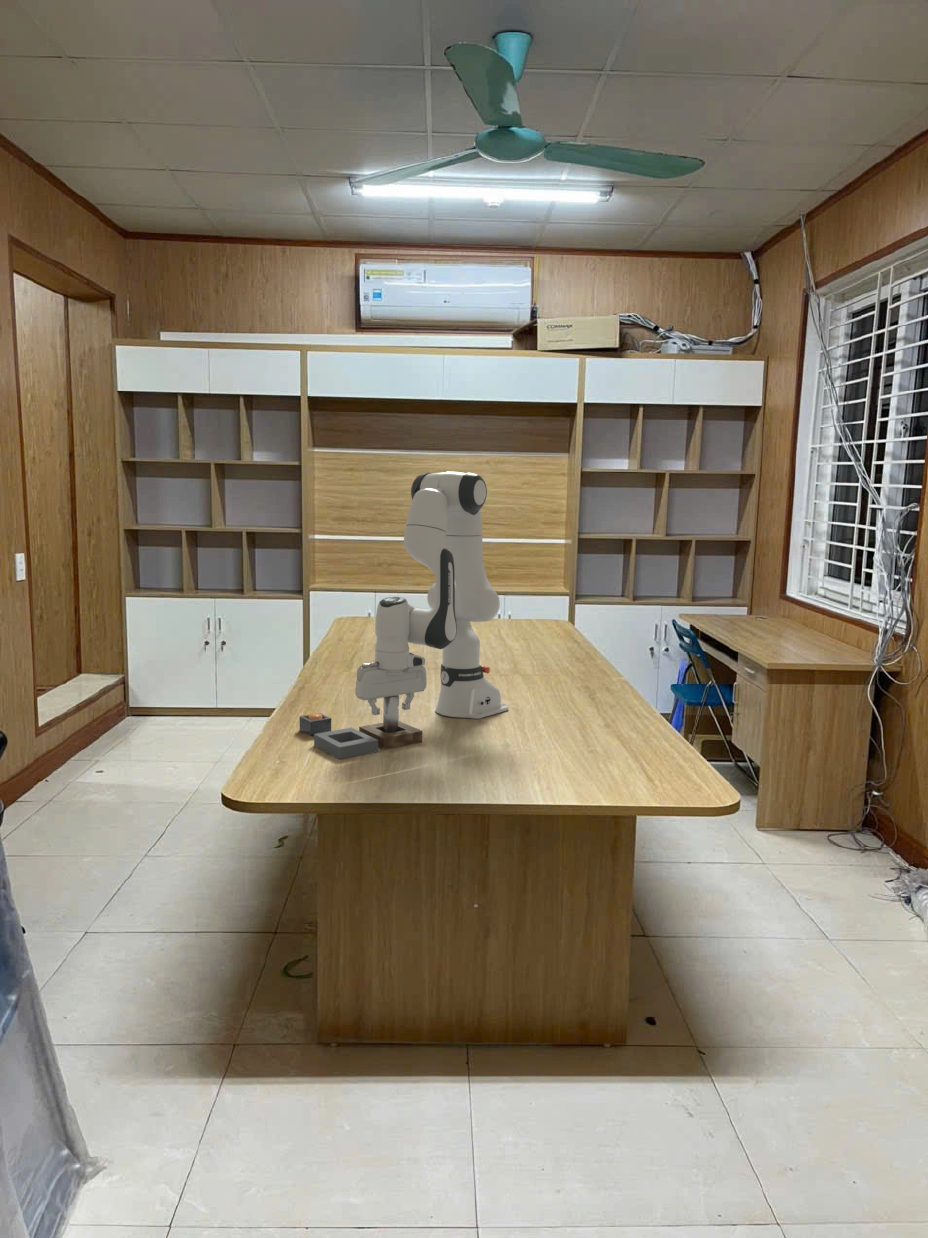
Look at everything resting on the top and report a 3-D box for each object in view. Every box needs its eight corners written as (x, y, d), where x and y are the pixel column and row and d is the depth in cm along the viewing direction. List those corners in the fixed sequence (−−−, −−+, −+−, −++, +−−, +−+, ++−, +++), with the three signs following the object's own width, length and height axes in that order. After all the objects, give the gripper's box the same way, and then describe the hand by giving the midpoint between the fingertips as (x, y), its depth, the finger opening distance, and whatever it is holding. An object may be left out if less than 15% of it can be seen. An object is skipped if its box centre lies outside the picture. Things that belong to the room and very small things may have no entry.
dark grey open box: (320, 727, 232) (320, 712, 232) (331, 732, 227) (331, 718, 227) (299, 730, 228) (299, 716, 228) (310, 736, 224) (310, 721, 223)
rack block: (351, 738, 223) (351, 727, 222) (377, 751, 213) (378, 740, 212) (314, 745, 216) (314, 734, 216) (339, 759, 206) (339, 747, 206)
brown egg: (318, 725, 230) (318, 712, 230) (324, 728, 227) (324, 716, 227) (306, 727, 228) (306, 714, 227) (312, 730, 225) (312, 717, 225)
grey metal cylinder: (392, 736, 225) (393, 693, 224) (401, 740, 222) (401, 696, 220) (379, 739, 223) (380, 694, 221) (388, 743, 220) (389, 698, 218)
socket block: (396, 730, 231) (397, 720, 231) (422, 741, 222) (422, 730, 221) (359, 737, 224) (359, 726, 223) (383, 749, 214) (383, 738, 214)
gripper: (363, 666, 210) (363, 720, 213) (430, 658, 223) (429, 709, 225) (350, 662, 215) (350, 714, 218) (416, 654, 228) (415, 703, 230)
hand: (391, 711), depth 221 cm, fingers open, 8 cm apart
